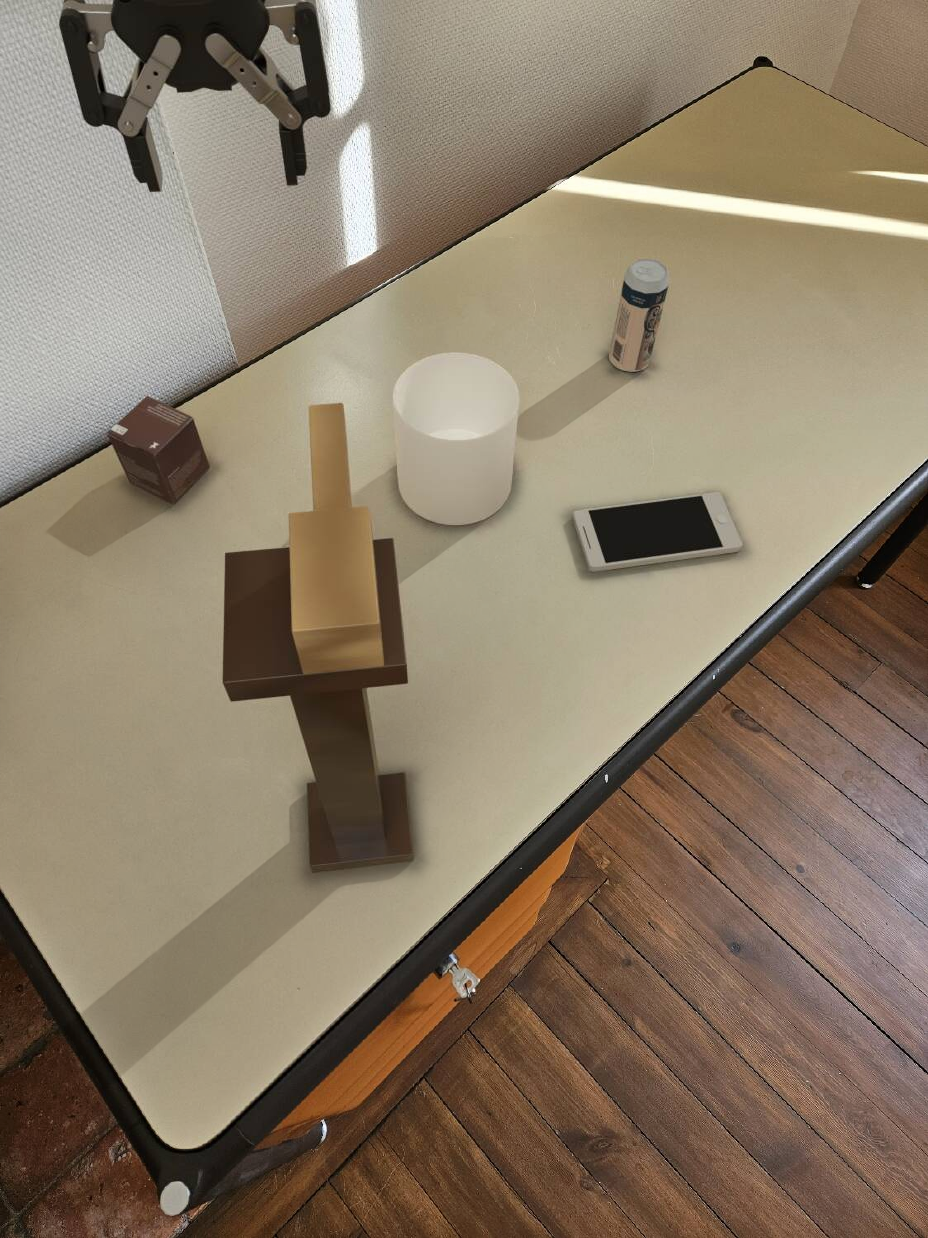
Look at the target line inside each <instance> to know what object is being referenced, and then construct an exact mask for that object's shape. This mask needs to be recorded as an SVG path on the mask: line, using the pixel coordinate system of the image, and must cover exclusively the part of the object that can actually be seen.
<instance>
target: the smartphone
mask: <svg viewBox="0 0 928 1238" xmlns="http://www.w3.org/2000/svg"><path fill="white" fill-rule="evenodd" d="M572 522H573V524H574V525H573V526H574V527H575V530H576V534H577V537H578V540H579V544H580V547H581V550H582V554H583V556H584V559H585V562H586V566H587V568H588V571H589V572H596V573H597V572H604V571H610V570H618V569H624V568H632V567H639V566H646V565H647V566H648V565H653V564H659V563H667V562H674V561H682V560H687V559H688V560H689V559H697V558H703V557H711V556H717V555H725V554H731V553H737V552H740V551H741V550H742V548H743V545H744V544H743V541H742V539H741V537H740V535H739V532H738V530H737V527H736V525H735V523H734V521H733V519H732V516H731V513H730V512H729V510H728V507H727V505H726V502H725V500H724V497H723V495H722V493H720V492H719V491H718V492H717V491H715V492H714V491H713V492H705V493H697V494H690V495H682V496H675V497H667V498H659V499H653V500H645V501H638V502H629V503H621V504H614V505H607V506H606V505H605V506H598V507H590V508H584V509H583V508H582V509H578V510H574V511H573V512H572Z"/></svg>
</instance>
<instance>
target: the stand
mask: <svg viewBox="0 0 928 1238" xmlns="http://www.w3.org/2000/svg"><path fill="white" fill-rule="evenodd" d="M373 545H374V554H375V565H376V577H377V588H378V599H379V610H380V621H381V632H382V643H383V654H384V666H381V667H371V668H361V669H351V670H341V671H331V672H321V673H311V674H303V672H302V668H301V664H300V661H299V657H298V653H297V649H296V645H295V642H294V638H293V634H292V624H291V587H290V550H289V546H286V547H274V548H262V549H252V550H251V549H249V550H239V551H229V552H228V551H227V552H225V553H224V586H223V588H224V591H223V634H222V635H223V636H222V640H223V641H222V685H223V687H224V689H225V692H226V694H227V697H228V700H229V701H230V702H242V701H251V700H252V701H253V700H262V699H271V698H280V697H281V698H282V697H290V701H291V704H292V707H293V710H294V714H295V717H296V721H297V724H298V727H299V730H300V734H301V738H302V740H303V744H304V747H305V750H306V754H307V758H308V760H309V763H310V766H311V767H310V768H311V770H312V773H313V777H314V780H315V781H311V782H307V783H306V794H307V795H306V797H307V825H308V853H309V868H310V870H311V873H313V874H314V873H315V874H316V873H324V872H333V871H341V870H348V869H349V870H350V869H357V868H359V869H360V868H366V867H374V866H383V865H391V864H392V865H393V864H400V863H408V862H414V859H415V858H414V849H413V840H412V829H411V819H410V818H411V817H410V808H409V798H408V789H407V788H408V787H407V780H406V777H407V776H406V772H405V771H401V772H393V773H384V774H380V771H379V769H380V768H379V761H378V756H377V747H376V743H375V736H374V730H373V729H374V728H373V723H372V722H373V721H372V716H371V709H370V702H369V695H368V689H369V688H379V687H388V686H389V687H391V686H399V685H408V684H409V675H408V662H407V651H406V643H405V634H404V626H403V625H404V624H403V623H404V622H403V616H402V615H403V614H402V606H401V605H402V604H401V596H400V588H399V577H398V569H397V568H398V567H397V558H396V551H395V540H394V538H393V537H386V538H377V539H376V538H375V539H373Z"/></svg>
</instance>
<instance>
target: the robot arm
mask: <svg viewBox="0 0 928 1238" xmlns="http://www.w3.org/2000/svg"><path fill="white" fill-rule="evenodd" d="M270 26H275V27H276V28H278V29H279V30H280V31H281V33H282V34H283V37H284V40H285V41H286V43H288V44H290V45H292V46H299V52H300V57H301V62H302V63H301V64H302V68H303V75H304V80H305V84H304V85H302V86H299V87H297V88H295V87H294V86H293V85H292V84H291V83H290V82H289V81H288V80H287V78H286V77H285V76H284V75H283V74H282V73H281V71H279V69H278V67H277V65H276V63H275V62H274V60H273V59H272V57H271V56H270V55H269V54H268V53H267V52H266V51H265V50H264V49H263V47H261V46H262V44H263V42H264V40H265V39H266V36H268V35H267V34H268V32H269V30H270ZM58 27H59V31H60V35H61V38H62V42H63V47H64V49H65V53H66V57H67V62H68V65H69V69H70V73H71V76H72V80H73V84H74V89H75V92H76V96H77V100H78V103H79V108H80V111H81V114H82V118H83V120H84V121H85V123H86V124H87V125H89V126H91V127H93V128H99V127H102V126H103V125H104V126H107V127H110V128H113V129H115V130H117V131H118V132H119V133H120V135H121V137H122V138H123V142H124V146H125V149H126V152H127V156H128V158H129V163H130V165H131V169H132V173H133V176H134V177H135V179H136V180H137V181H138V183H139V184H146V186H147V189H148V192H149V193H162V191H163V181H164V180H163V179H164V178H163V170H162V165H161V162H160V158H159V155H158V150H157V147H156V143H155V139H154V136H153V132H152V131H153V130H152V128H151V124H150V119H149V117H148V114H149V112H150V110H152V109H153V107H154V106H155V105H156V104H155V103H156V101H157V100H158V97H159V95H160V94H161V91H162V89H163V87H164V86H165V85H167V86H168V87H170V88H172V89H175V90H176V93H177V94H179V93H193V92H196V91H199V90H201V89H207V90H213V91H217V92H228V91H230V92H231V91H233V87H235V86H236V85H238V84H240V85H241V86H242V87H243V88H244V90H245V91H246V92H247V93H248V94H249V95H250V96H251V97H252V98H253V99H254V100H255V101H256V102H257V103H258V104H259V105H264V106H265V107H266V108H267V109H268V110H269V112H270V113H271V114H272V115H273V116H274V117H275V118H276V119H277V120H278V134H279V141H280V148H281V155H282V161H283V168H284V175H285V181H286V186H287V187H290V186H291V187H292V186H295V187H296V186H299V179H298V177H305V176H306V173H307V168H308V162H307V161H308V160H307V151H306V143H305V134H304V125H305V123H306V122H307V121H308V120H310V119H312V118H314V117H316V118H319V119H323V118H326V117H327V116H329V115H330V113H331V111H332V109H331V107H332V106H331V100H330V86H329V79H328V73H327V67H326V59H325V53H324V47H323V46H324V45H323V41H322V34H321V28H320V20H319V15H318V8H317V1H316V0H112V3H109V4H108V3H87V2H86V0H63V3H62V8H61V12H60V16H59V20H58ZM111 31H113V32H114V33H115V35H116V36H117V37H118V38H119V39H120V41H121V42H122V43H123V44H124V45H125V46H126V47H127V48H128V49H129V50H130V51H131V52H132V53H133V54H135V56H136V57H137V58H138V59H137V61H136V63H135V66H134V68H133V72H132V75H131V77H130V79H129V81H128V84H127V86H126V88H125V90H124V92H123V94H122V96H121V95H119V94H115V93H111V92H108V90H107V86H106V85H107V84H106V82H105V81H106V80H105V77H104V72H103V68H102V64H101V59H100V56H99V53H100V52H101V51H103V49H104V48H105V43H106V39H107V38H106V37H107V34H108V33H110V32H111Z"/></svg>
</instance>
